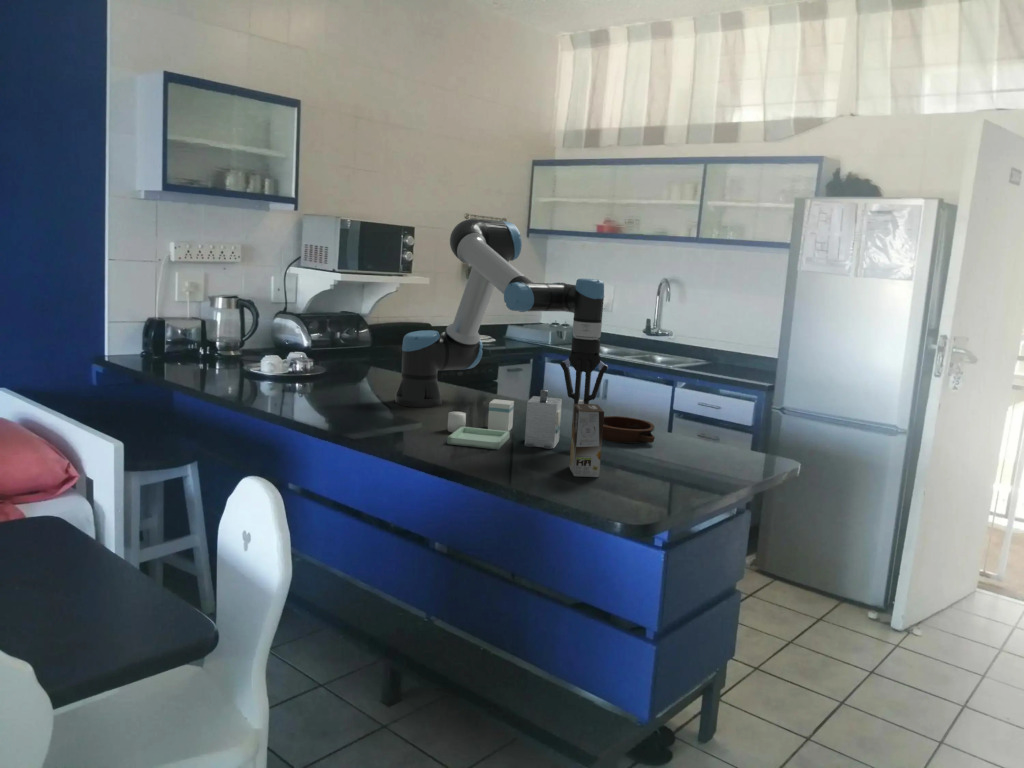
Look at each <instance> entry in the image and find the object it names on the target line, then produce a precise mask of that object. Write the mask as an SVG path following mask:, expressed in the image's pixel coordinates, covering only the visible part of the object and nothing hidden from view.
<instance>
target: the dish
mask: <svg viewBox="0 0 1024 768" xmlns="http://www.w3.org/2000/svg"><path fill="white" fill-rule="evenodd" d="M654 430H655V425H654V423H653V422H650V421H647V420H643V419H640V418H634V417H629V416H620V415H616V416H615V415H612V416H611V415H608V416H606V415H604V422H603V434H602V440H604V441H608V442H612V443H620V444H621V443H622V444H636V443H637V444H638V443H643V442H644V443H649V444H652V443H654V442H655V438H656V437H655V435H653V434H652V431H654Z"/></svg>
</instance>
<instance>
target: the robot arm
mask: <svg viewBox="0 0 1024 768" xmlns="http://www.w3.org/2000/svg"><path fill="white" fill-rule="evenodd" d="M449 246H450V250H451V251H452V253H453V255H454V256H455V257H456V258H457V259H458V260H459V261H461V263H463V264H465V265H470V266H471V268H470V269H471V270H470V273H469V275H468V279H467V282H466V284H465V287H464V290H463V293H462V295H461V296H462V297H461V299H460V302H459V304H458V308H457V311H456V313H455V317H454V320H453V321H452V322H453V323H450V324H448V325H447V326H446V328H445V331H444V334H440V333H439V331H438V330H429V329H428V330H417V331H411V332H408V333H406V334H405V335H404V336H403V339H402V345H401V351H402V353H401V379H400V381H399V384H398V387H397V390H396V392H395V397H394V398H395V399H394V401H395V404H397V405H399V406H400V405H401V406H404V407H413V408H432V407H437V406H440V405H442V403H443V402H442V401H443V400H442V397H443V396H442V393H441V389H440V386H439V383H438V371H453V370H455V371H456V370H457V371H458V370H459V371H464V370H467V369H468V370H469V369H472V368H473V369H474V368H475V367H477V365H478V364H479V363H480V361H481V359H482V357H483V348H484V347H483V346H484V345H483V342H482V339H481V334H480V332H479V330H480V327H481V324H482V321H483V319H484V316H485V314H486V311H487V307H488V305H489V303H490V299H491V298H492V297H491V296H492V294H493V291H494V288H496V289H497V290H498V291H500V292H501V293H502V295H503V300H504V301H503V302H504V303H505V307H506V308H507V309H508V310H509V311H513V312H520V313H525V312H566V313H572V314H573V321H572V322H573V323H572V336H574V337H572V338H571V348H570V350H571V351H570V354H569V356H568V358H566V359H565V360H562V361H561V362H560V363H559V364H560V366H561V368H562V371H563V375H564V381H565V386H566V392H567V393H566V394H567V396H568V398H571V399H572V400H573V404H590V401H594V400H595V399H596V398H597V396H598V392H599V389H600V386H601V383H602V380H603V378H604V374H605V373H606V372H607V370H608V369H609V365H608V364H605V363H604V362H603V361H602V357H601V356H600V350H601V349H600V348H601V339H599V338H601V336H602V325H603V323H602V322H603V310H604V301H605V300H604V298H605V282H604V281H603V280H602V279H594V278H578V279H577V280H576V282H575V284H570V283H565V282H552V283H551V282H550V283H545V282H542V283H541V282H533V281H531V280H530V279H529V278H528V277H526V275H524V274H523V273H522V272H521V271H519V270H518V269H517V268H516V267H515V266H513V265H512V264H511V263H510V262H511V261H515V260H516V259H518V258H519V256H520V254H521V251H522V246H523V244H522V237H521V233H520V230H519V229H518V227H517V225H515V224H514V223H512V222H510V221H503V220H488V219H477V218H469V219H465V220H463V221H461V222H459V223H457V225H456V226H454V228H453V230H452V231H451V233H450V237H449ZM509 261H510V262H509ZM570 366H572V368H573V369H574V370H575V384H574V389H573V383H572V377H571V370H570ZM597 366H598V370H599V372H598V374H597V377H596V380H595V383H594V386H593V389H592V392H591V379H592V372H593V371H594V370H595V369H596V368H597ZM583 373H585V374H584V375H585V377H584V378H585V379H584V390H583V391H584V392H583V393H584V394H583V399H581V387H582V385H581V384H582V374H583ZM590 393H591V394H590Z"/></svg>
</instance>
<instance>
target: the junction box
mask: <svg viewBox="0 0 1024 768" xmlns="http://www.w3.org/2000/svg"><path fill="white" fill-rule="evenodd" d="M562 401H563V399H562V398H558V397H549V390H546V389H541V390H540V395H539V396H538V395H537V396H536V395H533V396H532V397H530V398H529V399H528V401H527V404H526V416H525V418H526V419H525V431H524V432H525V433H524V446H525V447H528V448H534V447H538V448H543V449H547V450H552V449H555V447H556V446H557V444H558V443H559V441H560V431H561V418H562V417H561V416H562V403H563V402H562Z"/></svg>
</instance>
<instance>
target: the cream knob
mask: <svg viewBox="0 0 1024 768" xmlns="http://www.w3.org/2000/svg"><path fill="white" fill-rule="evenodd" d="M466 418H467V413H466V412H463V411H450V412H448V413H447V431H448V432H449V433H454V432H455V431H456V430H458V429H459V428H460V427H466V423H467V422H466V421H467V419H466Z"/></svg>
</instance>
